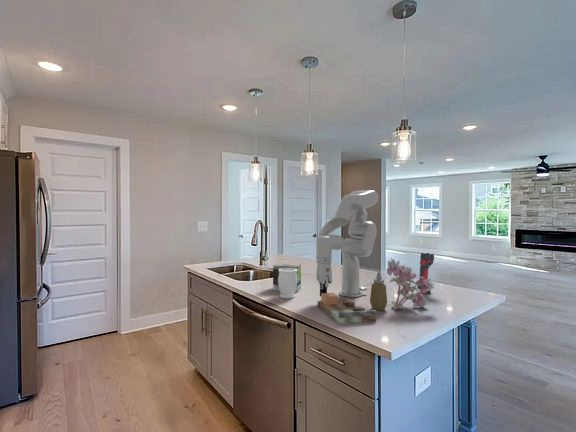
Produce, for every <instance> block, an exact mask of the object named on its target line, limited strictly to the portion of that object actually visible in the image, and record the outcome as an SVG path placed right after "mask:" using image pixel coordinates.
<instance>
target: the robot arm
mask: <svg viewBox="0 0 576 432" xmlns="http://www.w3.org/2000/svg"><path fill="white" fill-rule="evenodd" d="M378 201H379V195H378V192H377V191H376V190H372V189H371V190H370V189H369V190H368V189H367V190H354V191H351V192H350V193H349V194H344V195H343V197H341V201H340V203H339V205H338V206H337V207H338V208H337V210H336V212H335V214H334V216H333V217H332V218H330V219H329V220H328V221H327V222H326V223H325V224H324V225H323V226H322V228H321V230H320V232H319V235H318V236H317V237H316V264H317V265H316V280H317V282H318V283H319V297H321V293H328V288H329V286H330V285H331V284H332V283H333V273H332V251H333V250H335V251H338V250H341V258H342V260H341V261H342V266H341V268H342V269H341V271H342V272H341V274H342V276H341V281H342V282H341V290H339V291H338V292H339V293H338V294H339V295H340V296H343V297H347V298H359V297H362V295H363V293H362V292H367V291H368V288H367V286H365V287H363V286H360V266H361V265H360V260H359V257H360V258H361V257H362V258H368V257H370V255H372V252H373V250H374V245H375V242H376V241H375V240H376V237H377V226H376V223H374V222H372V221H367V220H368V211H367V210H366V209H368V208H371V207H373V206H375V205H376V204H377V203H378ZM348 224H349V225H348ZM346 225H348V226H349V227H348V230H347V233H348V235H349V236H350V237H352V238H350V237H349V238H343V236H341V235H339V234H337V235H335V234H332V233H333V232H334V231H335V230H337V229H340V228H341V227H344V226H346ZM329 284H330V285H329Z"/></svg>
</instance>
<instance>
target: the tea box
mask: <svg viewBox="0 0 576 432" xmlns="http://www.w3.org/2000/svg"><path fill="white" fill-rule="evenodd" d="M280 268H295V269H297V272H296V274H297V286H296V291H295V293H297V292H299V291H300V290H301V289H302V288H301V287H302V264H300V263H299V264H298V263H295V264H294V263H276V264H275V265H273V266H272V273H273V274H272V289H273V291H279V292H280V290H279V284H278V276H279V271H278V269H280Z"/></svg>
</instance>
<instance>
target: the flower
mask: <svg viewBox="0 0 576 432" xmlns="http://www.w3.org/2000/svg"><path fill="white" fill-rule="evenodd" d="M386 271H387V272H386V273H387V275H389V276H390V277H391V276H392V274H393V275H394V277H391V278H390V279H389V284H391V282H392V283H393V282H395V283H396V284H395V286H398V289H397V292H396V294H397V298H396V301H394V300H391V306H392V307H393V309H392V311H396V310H397V309H401V310H403V308H404V305H403V304H405V303H406V302H407V300H410V301H411V302H412V303H413V304H412V305H413V306H414V307H417V308H418V307H421V308H422V309H424V308H425V307H426V306H428V299H426V298H425V296H424V294H427V293H426V292H427V291H432V290H433V289H435V287H434V286H435V284H434V282H433V281H431V280H432V279H431V278H428V279H427V280H425V278H424V277H420V276H419V277H418V279H417V280H416V281H414V279H415V278H417V274H416V272H412V271H413V269H412V268H411V266H407V267H406V265H405V264H403V265H400V260H399V259H398V260H397V261H396V260H395V258H392V257H391V258H390V259H389V260H388V261H387V268H386ZM420 279H421V280H422V281H420ZM412 284H414V285H412ZM418 286H420V287H422V288H421V289H418ZM401 287H402V288H401ZM415 291H416V292H417V293H415ZM410 292H411V293H410ZM409 293H410V294H409ZM400 295H401V296H403V297H402V298H401V299H400Z"/></svg>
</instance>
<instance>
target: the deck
mask: <svg viewBox="0 0 576 432" xmlns="http://www.w3.org/2000/svg"><path fill="white" fill-rule="evenodd" d="M355 303H356V302H355V301H353V300H351V299H350V298H348V299H347V298H345V299H343V298H342V299H338V304H332V305H325V304H324V303H323V302H321V300H317V307H318V308H319V309H321V310H322V311H323V312H324V313H325V314H326V315H327V316H329V317H330V318H331V319H332V320H333V321H335V322H336V323H337V324H338V325H344V324H356V323H357V324H359V323H369V322H370V323H371V322H377V310H374V309H370V310H366V309H365V307H363V306H356V305H355Z"/></svg>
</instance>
